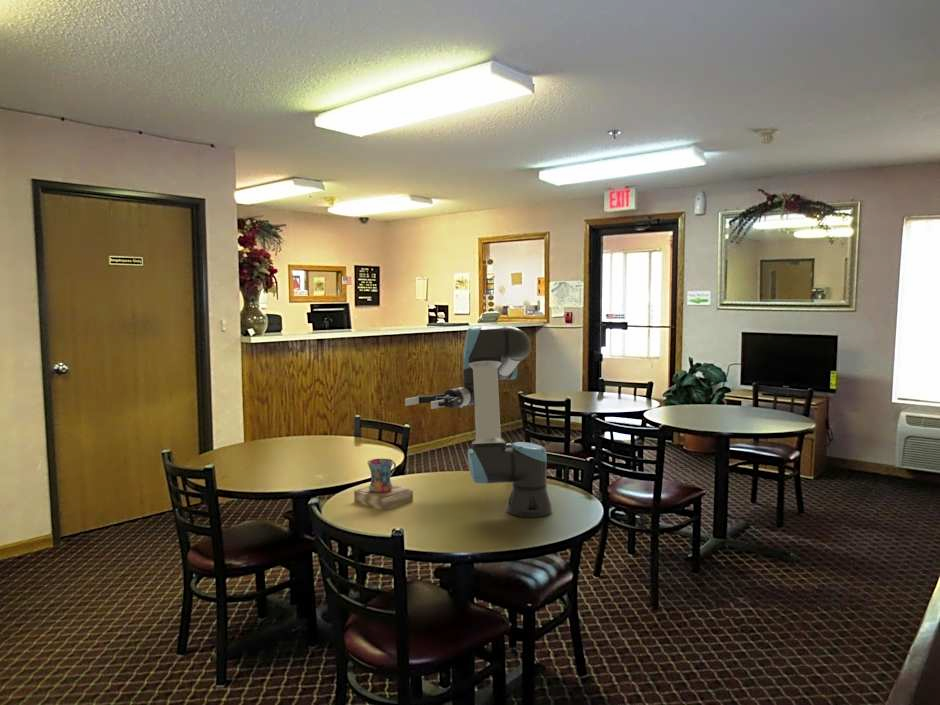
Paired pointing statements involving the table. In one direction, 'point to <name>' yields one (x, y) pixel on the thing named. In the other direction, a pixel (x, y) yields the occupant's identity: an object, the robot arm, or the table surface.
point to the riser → (383, 497)
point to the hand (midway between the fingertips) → (418, 403)
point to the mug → (381, 474)
